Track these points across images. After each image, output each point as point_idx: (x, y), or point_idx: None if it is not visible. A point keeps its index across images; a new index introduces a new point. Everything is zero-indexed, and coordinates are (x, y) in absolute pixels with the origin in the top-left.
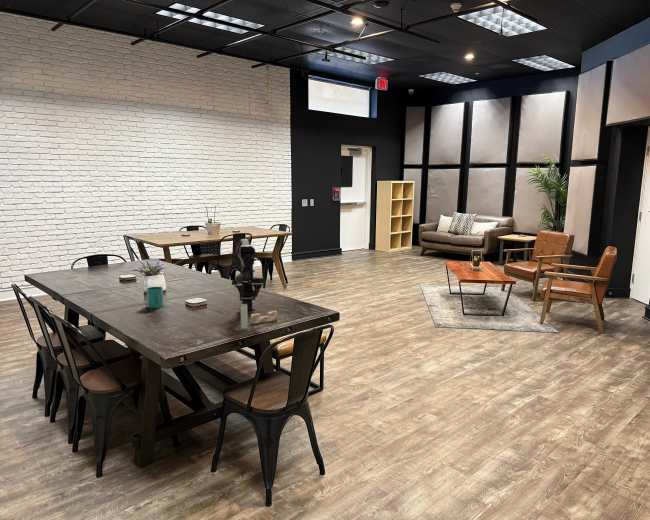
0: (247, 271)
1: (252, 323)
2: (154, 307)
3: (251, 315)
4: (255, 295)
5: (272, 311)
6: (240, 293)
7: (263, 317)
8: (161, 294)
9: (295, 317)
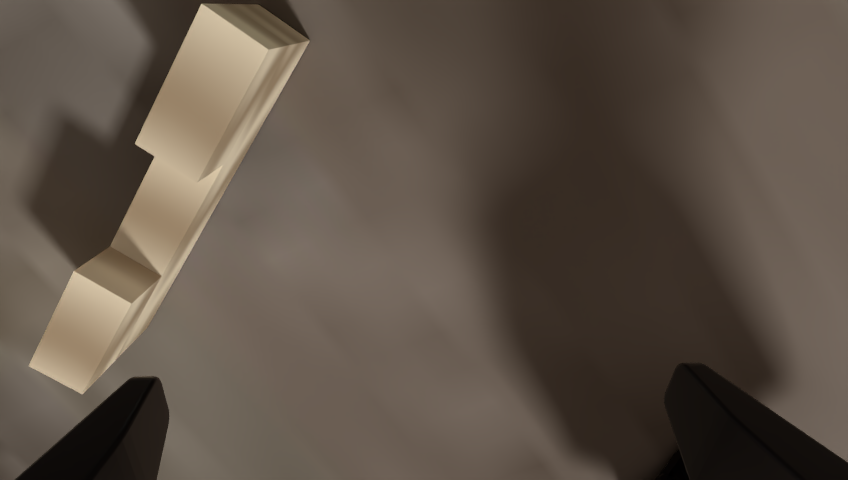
0: None
1: (263, 8)
2: None
3: (251, 33)
4: (90, 414)
5: (99, 355)
6: (808, 465)
7: (149, 170)
8: None
9: (17, 452)
